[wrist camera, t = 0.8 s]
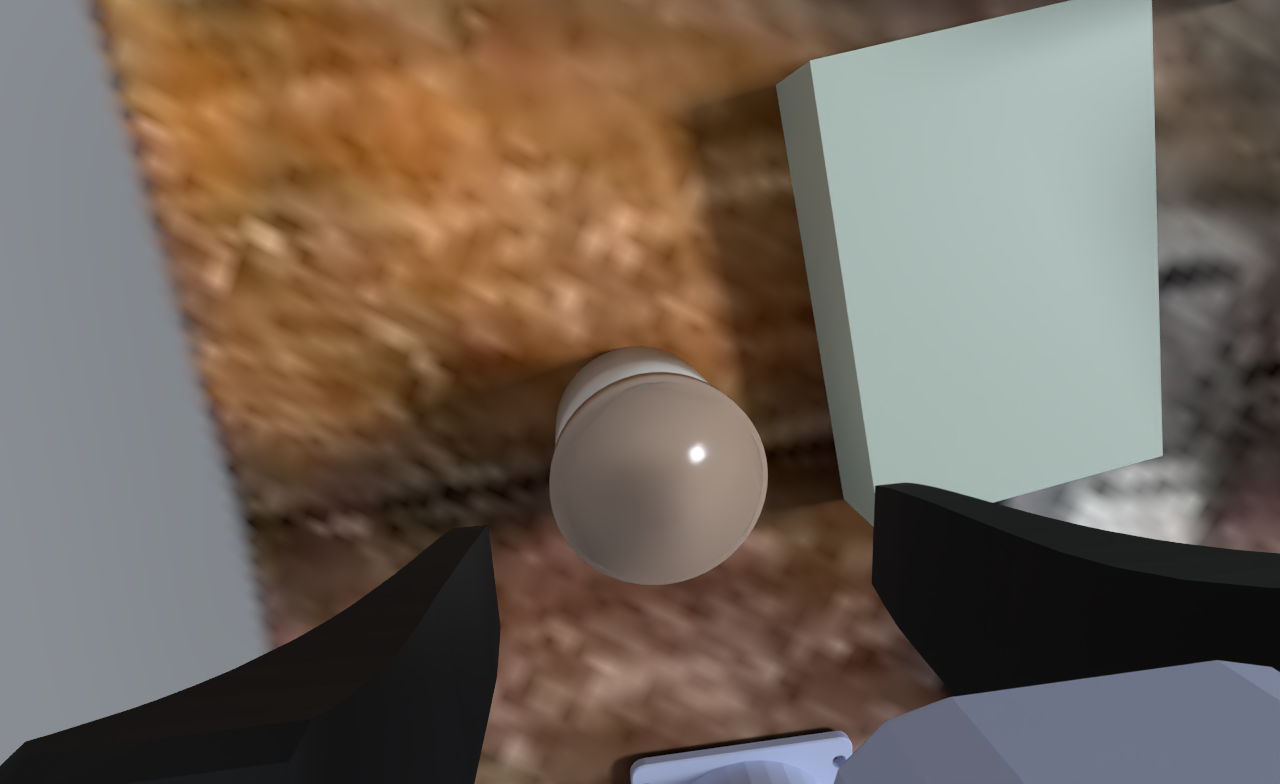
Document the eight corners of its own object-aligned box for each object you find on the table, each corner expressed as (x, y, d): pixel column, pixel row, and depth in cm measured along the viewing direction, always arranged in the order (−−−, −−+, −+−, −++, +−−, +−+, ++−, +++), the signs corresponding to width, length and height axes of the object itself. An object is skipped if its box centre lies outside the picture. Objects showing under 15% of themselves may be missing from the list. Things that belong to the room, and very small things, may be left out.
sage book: (1090, 426, 22) (1168, 454, 19) (838, 494, 22) (880, 533, 19) (1067, 19, 19) (1158, -20, 16) (771, 88, 19) (809, 60, 16)
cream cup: (721, 495, 21) (768, 572, 16) (560, 511, 20) (559, 596, 16) (716, 336, 20) (766, 368, 15) (545, 349, 19) (539, 386, 14)
